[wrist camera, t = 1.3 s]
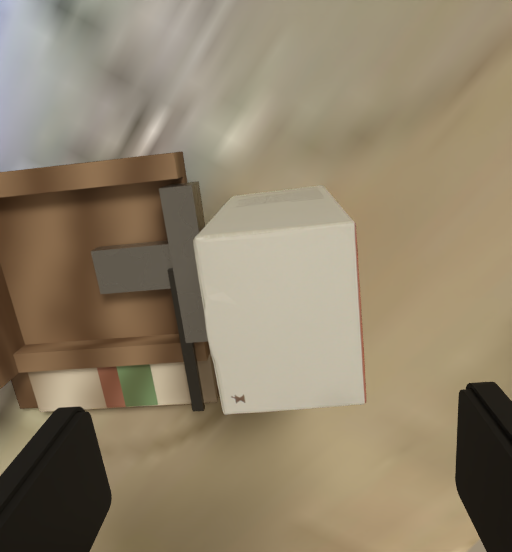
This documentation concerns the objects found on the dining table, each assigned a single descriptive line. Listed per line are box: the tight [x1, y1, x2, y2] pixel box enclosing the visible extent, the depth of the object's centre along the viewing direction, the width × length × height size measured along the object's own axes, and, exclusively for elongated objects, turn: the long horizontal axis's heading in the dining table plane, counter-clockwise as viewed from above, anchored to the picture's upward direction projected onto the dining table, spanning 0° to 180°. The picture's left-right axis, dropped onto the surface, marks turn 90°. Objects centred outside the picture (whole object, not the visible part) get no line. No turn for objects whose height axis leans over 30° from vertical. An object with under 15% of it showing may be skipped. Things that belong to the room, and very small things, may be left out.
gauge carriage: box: [91, 181, 208, 411], centre depth 29 cm, size 8×16×2 cm, turn 6°
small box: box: [193, 185, 366, 415], centre depth 23 cm, size 8×6×13 cm
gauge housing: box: [0, 152, 219, 412], centre depth 27 cm, size 16×18×9 cm
